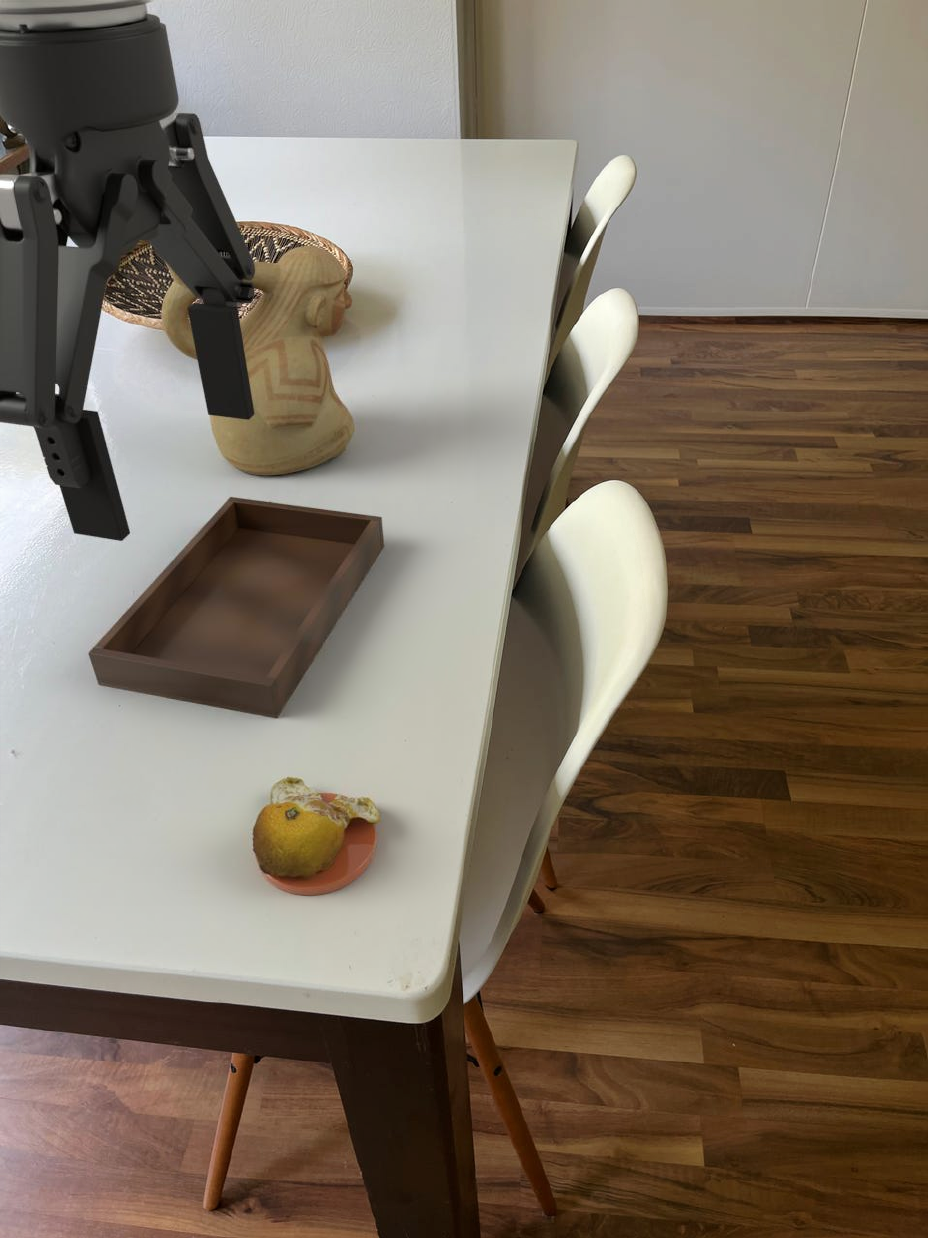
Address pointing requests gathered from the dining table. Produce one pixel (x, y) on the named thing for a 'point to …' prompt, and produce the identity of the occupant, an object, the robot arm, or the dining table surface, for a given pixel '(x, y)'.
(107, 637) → the bin
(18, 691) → the dining table surface
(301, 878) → the plate
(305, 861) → the fruit
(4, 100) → the robot arm
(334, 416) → the ceramic vessel
